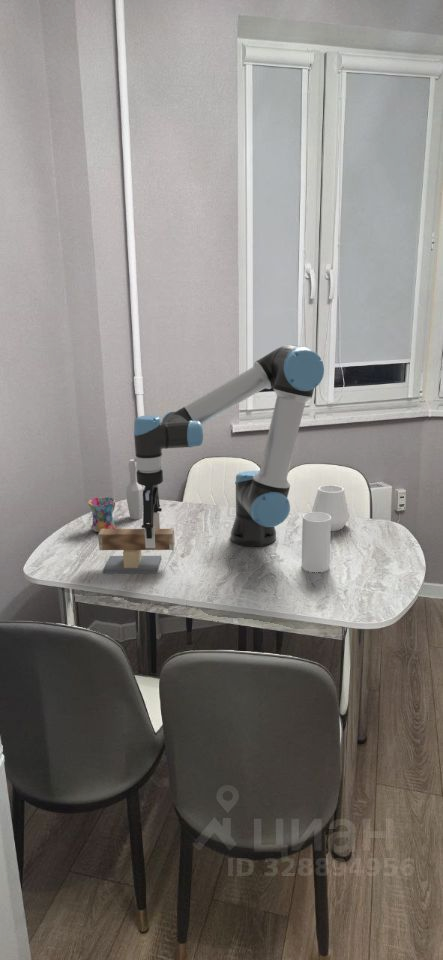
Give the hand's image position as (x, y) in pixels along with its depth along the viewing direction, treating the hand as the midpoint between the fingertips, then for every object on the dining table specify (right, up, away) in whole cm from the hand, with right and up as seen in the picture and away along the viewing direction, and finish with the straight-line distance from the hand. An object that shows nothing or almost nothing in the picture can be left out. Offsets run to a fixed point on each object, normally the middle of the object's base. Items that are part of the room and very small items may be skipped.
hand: (153, 539), depth 184 cm
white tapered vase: (+59, +1, +32) cm, 67 cm away
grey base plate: (-6, -8, +3) cm, 11 cm away
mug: (-20, +1, +34) cm, 40 cm away
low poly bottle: (-11, +4, +44) cm, 46 cm away
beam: (-5, -2, +1) cm, 5 cm away
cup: (+49, -8, 0) cm, 49 cm away
